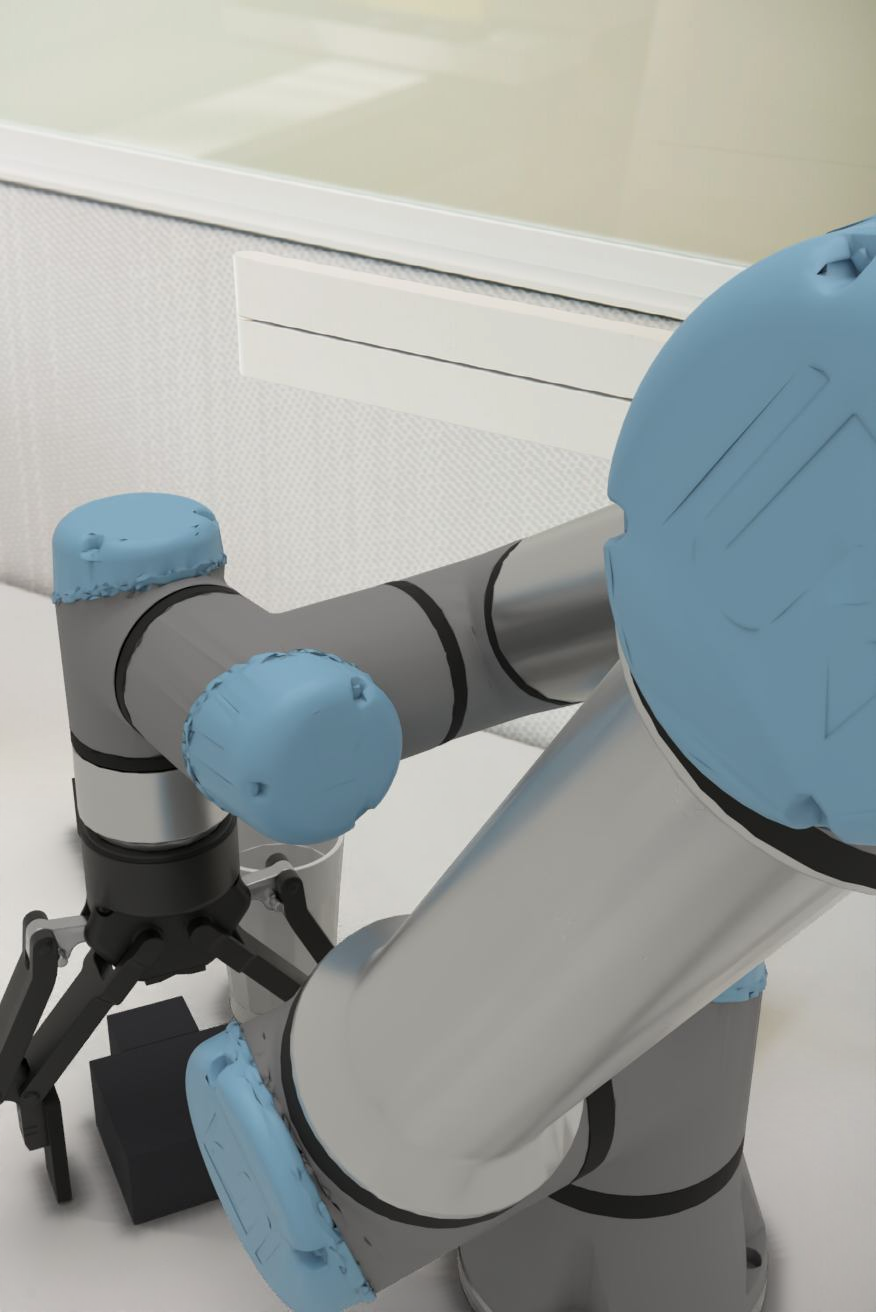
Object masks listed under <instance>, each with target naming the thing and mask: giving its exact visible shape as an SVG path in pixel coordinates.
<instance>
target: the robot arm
mask: <svg viewBox="0 0 876 1312" xmlns="http://www.w3.org/2000/svg"><path fill="white" fill-rule="evenodd" d="M606 489H607V490H606V491H607V492H606V493H607V494H606V495H607V497H608V500H609V501H610V502H612V503H611V504H608V505H606V506H603V507H601V508H599V509H596V510H593V511H590V512H588V513H586V514H583V515H580V516H578V517H575V518H573V519H570V520H568V521H566V522H562V523H560V524H557V525H555V526H552V527H550V528H547V529H545V530H542V531H539V532H538V533H535V534H533V535H529V536H527V537H524V538H519V539H516V540H514V541H512V542H509V543H507V544H504V545H501V546H499V547H497V548H494V549H492V550H489V551H486V552H484V553H481V554H478V555H475V556H472V557H469V558H466V559H463V560H460V561H457V562H452V563H450V564H446V565H444V566H439V567H437V568H433V569H430V570H427V571H424V572H421V573H417V574H415V575H411V576H408V577H405V578H404V577H403V578H401V579H398V580H392V581H388V582H384V583H380V584H378V585H375V586H372V587H368V588H364V589H360V590H357V591H353V592H350V593H346V594H343V595H340V596H335V597H331V598H329V599H325V600H321V601H317V602H314V603H311V604H307V605H304V606H300V607H297V608H293V609H290V610H286V611H283V612H276V613H275V612H274V613H273V612H269V611H268V610H267V609H265V608H263V607H262V606H260V605H258V604H257V603H255V602H254V601H252V600H251V599H250V598H247V597H246V596H244V595H243V594H242V593H240V592H239V591H238V590H236V589H234V587H232V586H230V585H228V583H227V581H226V579H225V569H226V565H227V564H228V556H227V555H226V553H225V550H224V545H223V540H222V535H221V529H220V524H219V521H218V520H217V518H216V515H215V513H213V511H212V510H211V509H210V508H208V507H207V506H206V505H205V504H203V503H201V502H199V501H197V500H196V499H193V498H189V497H186V496H182V495H178V494H172V493H164V492H130V493H129V492H128V493H121V494H115V495H110V496H107V497H102V498H98V499H97V498H96V499H94V500H91V501H88V502H86V503H83V504H81V505H79V506H77V507H75V508H73V509H72V510H71V511H69V512H67V514H66V515H64V516H63V517H62V518H61V519H60V521H59V522H58V524H57V525H56V527H55V529H54V531H53V533H52V538H51V539H52V540H51V549H52V550H51V551H52V577H53V581H52V582H53V592H52V593H51V597H50V598H51V604H53V605H54V607H55V616H56V617H55V618H56V624H57V633H58V641H59V649H60V658H61V659H60V660H61V665H62V674H63V683H64V684H63V685H64V692H65V699H66V708H67V710H66V711H67V717H68V726H69V735H70V743H71V751H72V763H73V771H74V778H75V785H76V796H77V807H78V812H79V816H80V818H81V819H82V820H81V823H80V835H81V838H80V843H81V853H82V862H83V863H82V864H83V871H84V872H83V873H84V882H85V883H84V884H85V893H86V895H85V896H86V897H85V902H84V905H83V908H82V910H81V911H80V913H79V914H78V915H72V916H71V915H70V916H64V917H58V918H51V919H49V917H48V915H47V914H46V912H44V911H42V910H40V909H39V910H37V909H34V910H31V911H29V912H27V913H26V914H25V916H24V917H23V918H22V931H21V933H22V935H21V936H22V937H21V939H22V942H21V943H22V944H21V947H22V948H21V953H20V955H19V958H18V960H17V963H16V965H15V968H14V970H13V972H12V974H11V976H10V979H9V982H8V984H7V986H6V988H5V991H4V994H3V996H2V997H1V1001H0V1105H2V1104H4V1103H5V1102H12V1103H15V1105H16V1112H17V1120H18V1126H19V1131H20V1133H21V1137H22V1140H23V1143H24V1146H25V1147H26V1148H27V1150H28V1151H29V1152H33V1151H36V1150H39V1149H43V1150H44V1151H43V1153H44V1159H45V1166H46V1171H47V1174H48V1177H49V1180H50V1184H51V1186H52V1190H53V1193H54V1197H55V1198H56V1202H57V1204H62V1203H65V1202H67V1201H71V1200H73V1191H72V1185H71V1176H70V1168H69V1167H70V1166H69V1161H68V1160H69V1159H68V1152H67V1143H66V1135H65V1128H64V1120H63V1112H62V1104H61V1099H60V1096H59V1094H58V1091H57V1089H56V1083H57V1082H58V1080H60V1078H61V1076H62V1075H63V1074H64V1072H65V1071H66V1069H67V1068H68V1067H69V1066H70V1064H71V1063H72V1062H73V1060H74V1059H75V1057H76V1056H77V1055H78V1054H79V1052H80V1051H81V1049H82V1048H83V1047H84V1045H85V1044H86V1043H87V1042H88V1040H89V1038H90V1037H91V1036H92V1034H93V1033H94V1032H95V1030H96V1029H97V1028H98V1027H99V1025H100V1023H101V1022H102V1021H103V1020H104V1018H105V1017H106V1016H107V1014H108V1013H109V1012H110V1010H111V1009H112V1008H113V1007H114V1006H120V1005H121V1004H122V1003H123V1002H124V1000H125V999H126V998H127V996H128V995H129V994H130V993H131V991H132V990H133V988H134V987H135V985H136V984H137V983H138V982H144V984H145V986H150V985H151V986H152V985H154V984H159V983H162V982H164V981H166V980H168V979H170V978H172V977H174V976H176V975H177V976H178V975H193V974H199V973H201V972H206V970H207V966H208V965H209V964H211V963H212V962H213V961H215V960H216V959H217V960H219V961H220V962H222V963H223V964H225V966H226V965H228V966H229V967H230V968H232V969H233V970H235V971H236V972H238V973H241V972H242V973H244V974H245V975H247V976H248V977H250V978H251V979H253V980H254V981H255V982H257V983H258V984H260V985H261V986H263V987H264V988H266V989H267V990H268V991H270V992H271V993H273V994H274V995H276V996H277V997H278V998H280V999H281V1000H283V1001H284V1002H285V1003H283V1004H282V1005H280V1006H278V1007H276V1008H275V1009H273V1010H271V1011H269V1012H266V1013H264V1014H262V1015H260V1016H257V1017H255V1018H253V1019H251V1020H248V1021H246V1022H244V1023H242V1024H241V1023H240V1022H239V1021H238V1020H237V1019H236V1020H233V1021H230V1022H231V1023H230V1022H228V1023H229V1024H228V1026H227V1027H226V1030H224V1031H223V1032H221V1033H219V1034H217V1035H215V1036H213V1037H211V1038H209V1039H208V1040H206V1041H204V1042H202V1043H201V1044H200V1045H199V1046H197V1047H196V1048H195V1050H194V1051H193V1053H192V1054H191V1056H190V1058H189V1061H188V1064H187V1069H186V1079H185V1081H186V1095H187V1101H188V1106H189V1111H190V1116H191V1120H192V1124H193V1128H194V1131H195V1135H196V1138H197V1142H198V1145H199V1148H200V1151H201V1154H202V1156H203V1159H204V1162H205V1165H206V1167H207V1170H208V1172H209V1175H210V1178H211V1180H212V1183H213V1185H214V1187H215V1190H216V1192H217V1194H218V1197H219V1198H218V1199H219V1201H220V1203H221V1205H222V1207H223V1210H224V1213H225V1215H226V1217H227V1218H228V1220H229V1223H230V1224H231V1226H232V1228H233V1230H234V1232H235V1234H236V1236H237V1238H238V1240H239V1241H240V1243H241V1245H242V1248H243V1249H244V1251H245V1252H246V1253H247V1255H248V1258H249V1259H250V1261H251V1262H252V1263H253V1265H254V1267H255V1268H256V1270H257V1271H258V1273H259V1274H260V1276H261V1277H262V1279H263V1280H264V1281H265V1282H266V1284H267V1285H268V1286H269V1288H270V1289H271V1291H272V1292H273V1293H274V1294H275V1295H276V1296H277V1298H278V1299H279V1300H280V1301H281V1302H282V1303H284V1304H285V1305H286V1306H287V1307H288V1308H289V1309H291V1310H292V1311H293V1312H344V1311H345V1310H347V1309H349V1308H351V1307H353V1306H355V1305H357V1304H359V1303H362V1304H370V1303H372V1302H373V1301H375V1300H376V1299H378V1297H377V1293H379V1292H381V1291H383V1290H385V1289H387V1288H388V1287H390V1286H392V1285H393V1284H395V1283H397V1282H399V1281H400V1280H402V1279H404V1278H406V1277H408V1276H409V1275H411V1274H413V1273H415V1272H416V1271H418V1270H420V1269H422V1268H424V1267H425V1266H428V1265H429V1264H431V1263H432V1262H434V1261H436V1260H437V1259H439V1258H441V1257H443V1256H444V1255H446V1254H448V1253H450V1252H452V1251H454V1250H455V1249H457V1257H456V1258H457V1260H456V1261H457V1269H458V1274H459V1275H458V1276H459V1279H460V1284H461V1286H462V1289H463V1292H464V1294H465V1297H466V1299H467V1301H468V1303H469V1305H470V1306H471V1309H472V1310H473V1312H761V1311H762V1307H763V1305H764V1301H765V1297H766V1296H765V1295H766V1290H767V1283H768V1282H767V1281H768V1276H769V1263H770V1262H769V1261H770V1256H769V1245H768V1244H769V1243H768V1236H767V1229H766V1225H765V1221H764V1218H763V1214H762V1210H761V1207H760V1204H759V1201H758V1198H757V1194H756V1190H755V1187H754V1184H753V1181H752V1178H751V1174H750V1171H749V1167H748V1164H747V1161H746V1157H745V1155H744V1145H745V1138H746V1128H747V1121H748V1114H749V1113H748V1111H749V1104H750V1097H751V1089H752V1081H753V1073H754V1071H753V1070H754V1066H755V1065H754V1064H755V1058H756V1057H755V1056H756V1047H757V1041H758V1033H759V1025H760V1017H761V1016H760V1015H761V1009H762V1000H763V993H764V991H765V990H766V987H767V984H768V983H767V982H768V981H767V978H768V975H769V974H768V970H767V966H766V962H765V960H767V959H768V958H769V957H771V956H772V955H773V954H774V953H776V952H778V951H779V950H780V949H782V947H784V946H785V945H786V944H787V943H789V942H790V941H792V940H793V939H794V938H796V936H798V935H800V933H802V932H803V931H804V930H805V929H807V928H808V927H810V926H811V925H812V924H814V923H815V922H816V921H818V920H819V919H821V917H823V916H824V915H825V914H827V913H828V912H829V911H831V910H832V909H833V908H834V907H835V906H837V905H838V904H839V903H841V902H842V901H843V900H844V899H846V898H847V897H848V896H850V895H851V894H853V893H854V892H857V893H861V894H865V895H869V896H876V213H874V214H872V215H870V216H868V217H865V218H863V219H861V220H859V221H857V222H853V223H850V224H847V225H845V226H842V227H838V228H836V229H832V230H830V231H827V232H826V233H825V234H821V235H817V236H814V237H810V238H806V239H804V240H801V241H799V242H796V243H793V244H792V245H789V246H786V247H784V248H781V249H780V250H778V251H776V252H774V253H772V254H769V255H767V256H766V257H764V258H761V259H760V260H758V261H757V262H755V263H753V264H751V265H750V266H748V267H747V268H745V269H743V270H741V271H740V272H739V273H737V274H736V275H734V276H733V277H732V278H730V279H728V280H727V281H725V282H724V283H723V284H722V285H721V286H719V287H718V288H717V289H715V291H713V292H712V293H710V295H708V296H707V297H706V298H705V299H704V300H703V301H702V302H701V303H700V304H699V305H698V306H697V307H696V308H695V309H694V310H693V311H692V312H690V314H689V315H687V317H686V318H685V319H684V320H683V321H682V322H681V323H680V325H679V326H678V327H677V328H676V329H675V330H674V332H673V333H672V334H671V335H670V337H669V338H668V340H667V341H666V342H665V343H664V345H663V346H662V347H661V349H660V350H659V352H658V353H657V355H656V356H655V357H654V359H653V361H652V362H651V364H650V366H649V367H648V369H647V371H646V373H645V374H644V376H643V378H642V380H641V381H640V382H639V385H638V387H637V390H636V391H635V393H634V396H633V398H632V399H631V402H630V405H629V407H628V410H627V411H626V415H625V418H624V420H623V422H622V426H621V428H620V431H619V434H618V437H617V440H616V443H615V447H614V450H613V454H612V457H611V462H610V467H609V472H608V477H607V486H606ZM579 704H581V705H580V706H579V708H578V709H577V710H576V711H575V712H574V713H573V715H572V716H571V718H570V719H569V720H568V721H567V722H566V724H565V725H564V726H563V727H562V728H561V730H559V732H558V733H557V734H556V736H555V737H554V738H553V739H552V741H551V742H550V743H549V744H548V746H546V748H545V749H544V751H542V753H541V754H540V755H539V756H538V757H537V759H536V760H535V761H534V763H532V764H531V766H530V768H529V769H528V770H527V771H526V772H525V774H524V775H523V776H522V777H521V778H520V780H519V781H518V782H517V783H516V785H515V786H514V787H513V789H511V791H510V792H509V793H508V794H507V796H506V797H505V798H504V799H503V800H502V802H501V803H500V804H499V805H498V806H497V808H496V809H495V810H494V811H493V813H492V814H491V815H490V816H489V817H488V819H487V820H486V821H485V822H484V824H483V825H482V826H481V827H480V828H479V830H478V831H477V832H476V834H475V835H474V836H473V837H472V839H470V841H469V842H468V843H467V844H466V845H465V847H464V848H463V850H461V852H460V853H459V854H458V855H457V857H456V858H455V859H454V860H453V861H452V863H451V864H450V866H448V868H447V869H446V870H445V872H443V874H442V875H441V876H440V878H439V879H438V880H437V881H436V883H435V884H434V885H433V886H432V887H431V888H430V890H429V891H428V892H427V893H426V895H425V896H424V897H423V898H422V899H421V901H420V902H419V903H418V905H416V907H415V908H414V909H413V911H412V912H411V913H406V914H398V915H391V916H388V917H384V918H381V919H378V920H375V921H373V922H371V923H368V924H366V925H363V927H361V928H359V929H358V930H356V931H354V932H353V933H351V934H349V935H348V936H345V938H343V940H342V941H340V942H339V943H337V946H334V945H333V943H332V942H331V940H330V939H329V938H328V936H327V935H326V933H325V932H324V930H323V929H322V928H321V926H320V925H319V923H318V922H317V920H316V919H315V918H314V916H313V915H312V913H311V912H310V911H309V909H308V908H307V904H306V898H305V892H304V886H303V882H302V880H301V878H300V877H299V875H298V874H297V872H296V871H295V869H294V868H293V866H292V865H291V863H290V862H289V860H288V859H287V857H286V856H285V855H284V854H282V853H274V854H272V855H270V856H269V857H268V859H267V860H266V862H265V868H264V869H261V870H258V871H255V872H253V873H250V874H247V875H244V876H240V860H239V842H238V825H237V817H238V818H240V819H241V820H243V821H244V822H245V823H247V824H248V825H249V826H251V827H252V828H254V829H255V830H256V831H258V832H259V833H261V834H262V835H264V836H266V837H267V838H270V839H272V840H274V841H277V842H280V843H284V844H290V845H312V844H318V843H323V842H326V841H329V840H332V839H335V838H337V837H339V836H341V835H343V834H344V835H345V834H346V833H348V832H350V831H351V830H353V829H354V828H355V826H356V822H357V821H358V820H359V819H360V818H361V817H362V816H364V814H365V813H367V812H368V810H375V809H376V808H377V807H378V806H379V805H380V803H381V802H382V801H383V800H384V798H385V797H386V795H387V794H388V792H389V791H390V789H391V787H392V785H393V782H394V780H395V778H396V776H397V774H398V771H399V766H400V763H401V761H402V760H406V759H408V758H412V757H414V756H416V755H419V754H422V753H424V752H427V751H430V750H433V749H435V748H437V747H440V746H443V745H445V744H447V743H449V742H451V741H454V740H457V739H459V738H462V737H466V736H469V735H471V734H475V733H478V732H481V731H484V730H487V729H490V728H493V727H496V726H499V725H502V724H506V723H508V722H511V721H515V720H518V719H520V718H525V717H528V716H531V715H535V714H539V713H543V712H544V713H545V712H549V711H552V710H557V709H562V708H566V707H571V706H575V705H579ZM252 900H259V901H261V902H262V903H263V904H264V906H265V907H266V908H267V909H268V910H274V911H275V912H277V913H279V912H282V913H283V915H284V917H285V918H286V920H287V921H288V923H289V925H290V926H291V928H292V929H293V931H294V932H295V934H296V935H297V936H298V938H299V939H300V941H301V942H302V943H303V945H304V946H305V948H306V949H307V950H308V952H309V953H310V954H311V956H312V957H313V959H314V960H315V961H316V963H317V964H318V965H317V966H316V967H315V969H314V970H313V971H312V973H311V974H310V975H309V976H307V975H306V974H304V973H303V972H302V971H300V970H299V969H298V968H296V967H295V966H293V965H292V964H291V963H289V962H288V961H286V960H285V959H284V958H282V957H281V956H279V955H278V954H277V953H275V952H274V951H273V950H271V949H270V948H268V947H267V946H266V945H264V944H263V943H261V942H260V941H259V940H257V939H256V938H255V937H253V936H252V935H250V934H249V933H248V932H246V931H245V930H244V929H242V928H241V927H240V925H239V923H240V921H241V920H242V918H243V917H244V915H245V914H246V912H247V911H248V909H249V907H250V904H251V901H252ZM82 943H86V945H87V946H88V948H90V949H89V951H88V952H87V953H86V954H85V956H84V958H83V961H82V967H81V970H80V972H78V974H77V976H76V977H75V978H74V980H73V981H72V982H71V983H70V985H69V987H68V988H67V989H66V991H65V992H64V993H63V994H62V996H61V997H60V999H59V1000H58V1001H57V1003H56V1004H55V1005H54V1007H53V1008H52V1010H51V1011H50V1012H49V1014H48V1015H47V1016H46V1018H45V1019H44V1020H43V1021H42V1023H41V1024H40V1026H39V1023H40V1021H41V1018H42V1016H43V1014H44V1012H45V1009H46V1006H47V1005H48V1003H49V999H51V995H52V994H53V993H52V992H53V991H54V987H55V984H56V981H57V977H58V969H59V968H64V967H66V966H67V965H68V963H69V959H70V957H71V954H72V952H73V950H74V948H76V946H77V945H79V944H82ZM38 1026H39V1027H38Z"/></svg>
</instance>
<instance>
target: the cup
mask: <svg viewBox="0 0 876 1312" xmlns="http://www.w3.org/2000/svg"><path fill="white" fill-rule="evenodd" d="M237 825H238V842H239V860H240V876H244V875H247V874H250V873H253V872H255V871H258V870H261V869H264V868H265V862H266V860H267V859H268V857H269V856H270V855H272V854H274V853H282V854H284V855H285V856H286V857H287V859H288V860H289V862H290V863H291V865H292V866H293V868H294V869H295V871H296V872H297V874H298V875H299V877H300V878H301V880H302V882H303V886H304V892H305V898H306V904H307V908H308V909H309V911H310V912H311V913H312V915H313V916H314V918H315V919H316V920H317V922H318V923H319V925H320V926H321V928H322V929H323V930H324V932H325V933H326V935H327V936H328V938H329V939H330V940H331V942H332V943H333V945H334V946H337V945H338V928H339V915H340V914H339V912H340V897H341V882H342V869H343V859H344V858H343V857H344V845H345V834H343V835H341V836H339V837H337V838H335V839H332V840H329V841H326V842H323V843H318V844H312V845H290V844H284V843H280V842H277V841H274V840H272V839H270V838H267V837H266V836H264V835H262V834H261V833H259V832H258V831H256V830H255V829H254V828H252V827H251V826H249V825H248V824H247V823H245V822H244V821H243V820H241V819H240V818H238V817H237ZM239 925H240V927H241V928H242V929H244V930H245V931H246V932H248V933H249V934H250V935H252V936H253V937H255V938H256V939H257V940H259V941H260V942H261V943H263V944H264V945H266V946H267V947H268V948H270V949H271V950H273V951H274V952H275V953H277V954H278V955H279V956H281V957H282V958H284V959H285V960H286V961H288V962H289V963H291V964H292V965H293V966H295V967H296V968H298V969H299V970H300V971H302V972H303V973H304V974H306V975H307V976H309V975H310V974H311V973H312V971H313V970H314V969H315V967H316V966H317V965H318V964H317V963H316V961H315V960H314V959H313V957H312V956H311V954H310V953H309V952H308V950H307V949H306V948H305V946H304V945H303V943H302V942H301V941H300V939H299V938H298V936H297V935H296V934H295V932H294V931H293V929H292V928H291V926H290V925H289V923H288V921H287V920H286V918H285V917H284V915H283V913H282V912H279V913H277V912H275V911H274V910H268V909H267V908H266V907H265V906H264V904H263V903H262V902H261V901H259V900H252V901H251V904H250V907H249V909H248V911H247V912H246V914H245V915H244V917H243V918H242V920H241V921H240V923H239ZM225 966H226V972H227V979H228V986H229V995H230V1009H231V1012H232V1015H233V1017H234V1018H235V1019H236V1020H237V1021H238V1022H239V1023H240V1024H242V1023H244V1022H246V1021H248V1020H251V1019H253V1018H255V1017H257V1016H260V1015H262V1014H264V1013H266V1012H269V1011H271V1010H273V1009H275V1008H276V1007H278V1006H280V1005H282V1004H283V1003H285V1002H284V1001H283V1000H281V999H280V998H278V997H277V996H276V995H274V994H273V993H271V992H270V991H268V990H267V989H266V988H264V987H263V986H261V985H260V984H258V983H257V982H255V981H254V980H253V979H251V978H250V977H248V976H247V975H245V974H244V973H242V972H241V973H238V972H236V971H235V970H233V969H232V968H230V967H229V966H228V965H226V964H225Z"/></svg>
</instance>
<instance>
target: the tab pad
mask: <svg viewBox="0 0 876 1312" xmlns="http://www.w3.org/2000/svg"><path fill="white" fill-rule="evenodd" d="M231 1022H232V1021H229V1022H227V1023H226V1022H225V1023H223V1024H219V1025H216V1026H213V1027H208V1028H205V1029H201V1030H200V1029H199V1026H198V1025H197V1022H196V1020H195V1018H194V1016H193V1014H192V1012H191V1010H190V1008H189V1006H188V1004H187V1001H185V998H184V996H183V995H179V996H175V997H172V998H167V999H164V1000H159V1001H156V1002H153V1003H148V1004H144V1005H141V1006H137V1007H134V1008H133V1007H132V1008H129V1009H126V1010H122V1011H119V1012H115V1013H112V1014H108V1015H107V1014H106V1024H107V1035H108V1044H109V1051H110V1052H109V1053H110V1055H107V1056H103V1057H99V1058H96V1059H92V1060H89V1061H88V1065H89V1072H90V1082H91V1091H92V1099H93V1109H94V1118H95V1125H96V1128H97V1130H98V1133H99V1136H100V1139H101V1141H102V1145H103V1146H104V1150H105V1152H106V1155H107V1158H108V1160H109V1162H110V1165H111V1168H112V1170H113V1173H114V1175H115V1179H116V1181H117V1184H118V1187H119V1189H120V1191H121V1194H122V1197H123V1199H124V1202H125V1205H126V1207H127V1210H128V1212H129V1216H130V1218H131V1221H132V1223H133V1225H138V1224H141V1223H144V1222H147V1221H151V1220H154V1219H157V1218H161V1217H163V1216H166V1215H170V1214H173V1213H177V1212H179V1211H182V1210H186V1209H189V1208H192V1207H195V1206H197V1205H202V1204H204V1203H208V1202H211V1201H214V1200H217V1199H219V1197H218V1194H217V1192H216V1190H215V1187H214V1185H213V1183H212V1180H211V1178H210V1175H209V1172H208V1170H207V1167H206V1165H205V1162H204V1159H203V1156H202V1154H201V1151H200V1148H199V1145H198V1142H197V1138H196V1135H195V1131H194V1128H193V1124H192V1120H191V1116H190V1111H189V1106H188V1101H187V1095H186V1081H185V1079H186V1069H187V1064H188V1061H189V1058H190V1056H191V1054H192V1053H193V1051H194V1050H195V1048H196V1047H197V1046H199V1045H200V1044H201V1043H202V1042H204V1041H206V1040H208V1039H209V1038H211V1037H213V1036H215V1035H217V1034H219V1033H221V1032H223V1031H224V1030H226V1027H227V1026H228V1024H229V1023H231Z"/></svg>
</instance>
